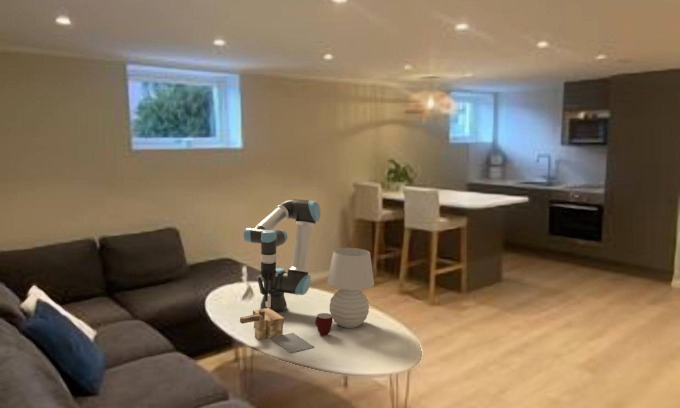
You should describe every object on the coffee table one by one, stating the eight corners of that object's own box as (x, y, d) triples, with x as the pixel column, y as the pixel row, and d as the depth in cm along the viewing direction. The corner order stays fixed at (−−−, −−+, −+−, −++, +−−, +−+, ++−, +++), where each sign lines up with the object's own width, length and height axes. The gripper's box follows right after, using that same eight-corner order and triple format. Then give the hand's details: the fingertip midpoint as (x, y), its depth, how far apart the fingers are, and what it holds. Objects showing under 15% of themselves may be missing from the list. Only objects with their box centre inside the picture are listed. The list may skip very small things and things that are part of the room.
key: (262, 317, 255) (262, 310, 255) (264, 319, 253) (264, 311, 253) (240, 322, 248) (240, 314, 248) (242, 323, 246) (242, 315, 246)
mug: (309, 333, 263) (309, 314, 261) (319, 329, 269) (320, 310, 267) (324, 339, 256) (325, 319, 255) (335, 334, 262) (335, 315, 261)
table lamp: (378, 321, 284) (382, 250, 278) (361, 336, 261) (365, 260, 255) (337, 313, 294) (340, 244, 289) (316, 327, 271) (319, 253, 266)
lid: (268, 313, 272) (268, 307, 271) (284, 323, 258) (284, 317, 258) (252, 316, 266) (252, 310, 266) (268, 326, 253) (268, 320, 252)
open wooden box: (267, 324, 272) (268, 302, 270) (282, 334, 259) (283, 312, 257) (244, 329, 264) (245, 306, 263) (259, 340, 251) (259, 316, 250)
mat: (293, 333, 262) (293, 332, 261) (314, 347, 246) (314, 346, 245) (270, 338, 254) (270, 337, 254) (290, 353, 238) (290, 352, 238)
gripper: (276, 257, 262) (275, 302, 266) (253, 261, 254) (252, 306, 258) (283, 261, 256) (283, 306, 260) (260, 265, 248) (259, 311, 252)
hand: (268, 306), depth 259 cm, fingers closed
